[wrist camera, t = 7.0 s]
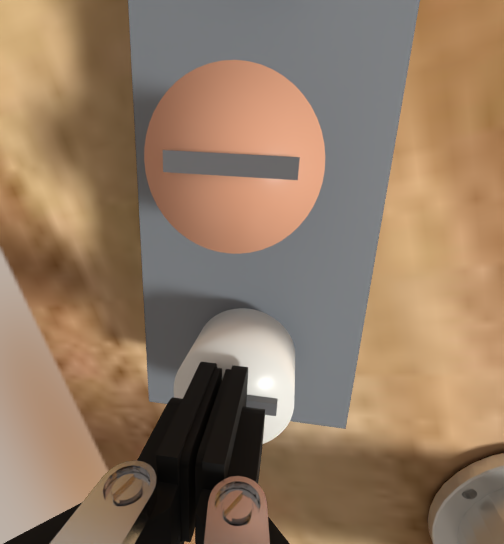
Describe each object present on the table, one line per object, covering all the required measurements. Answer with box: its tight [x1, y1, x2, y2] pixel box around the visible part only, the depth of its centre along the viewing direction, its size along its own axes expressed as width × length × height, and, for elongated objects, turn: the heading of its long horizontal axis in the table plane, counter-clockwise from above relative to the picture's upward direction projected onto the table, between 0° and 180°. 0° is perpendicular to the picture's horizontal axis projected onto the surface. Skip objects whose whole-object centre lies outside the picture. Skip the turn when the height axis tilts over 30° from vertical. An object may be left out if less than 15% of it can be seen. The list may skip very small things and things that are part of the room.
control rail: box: [128, 0, 420, 429], centre depth 16 cm, size 24×10×5 cm, turn 177°
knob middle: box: [144, 60, 325, 254], centre depth 11 cm, size 4×4×6 cm
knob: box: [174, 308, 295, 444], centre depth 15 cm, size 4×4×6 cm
